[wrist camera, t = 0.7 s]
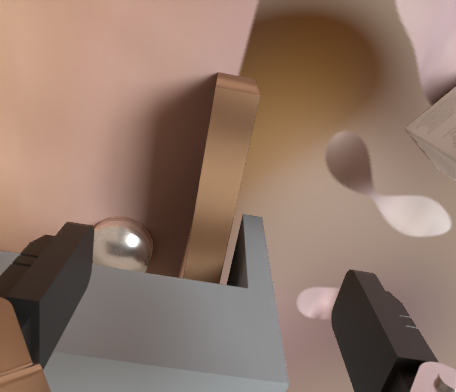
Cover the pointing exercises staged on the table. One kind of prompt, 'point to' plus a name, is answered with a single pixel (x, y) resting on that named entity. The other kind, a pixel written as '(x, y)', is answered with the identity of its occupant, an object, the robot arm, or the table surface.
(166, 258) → the table surface
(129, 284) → the low cabinet
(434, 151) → the skincare box
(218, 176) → the copper bar
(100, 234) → the silver rounded piece
